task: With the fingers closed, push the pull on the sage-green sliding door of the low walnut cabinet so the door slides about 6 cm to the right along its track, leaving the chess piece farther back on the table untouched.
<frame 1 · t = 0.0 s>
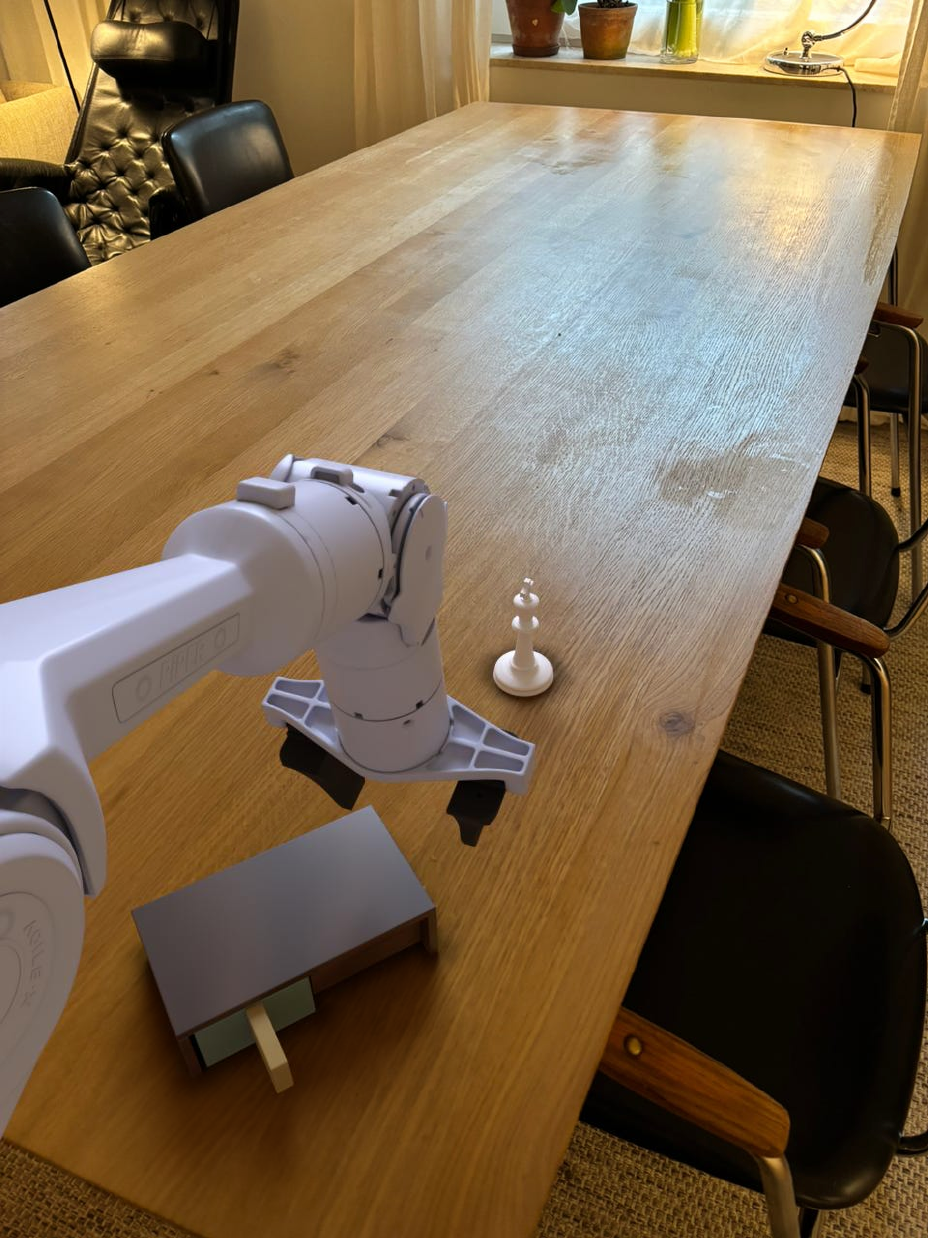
hand: (413, 812, 58), 11 cm above the table, tool pointing down, fingers open, 7 cm apart
sliding door: (268, 1047, 56), point 2 cm above the table, slide at 0.0 cm
cabinet: (293, 953, 63), on the table
chess piece: (523, 677, 82), on the table
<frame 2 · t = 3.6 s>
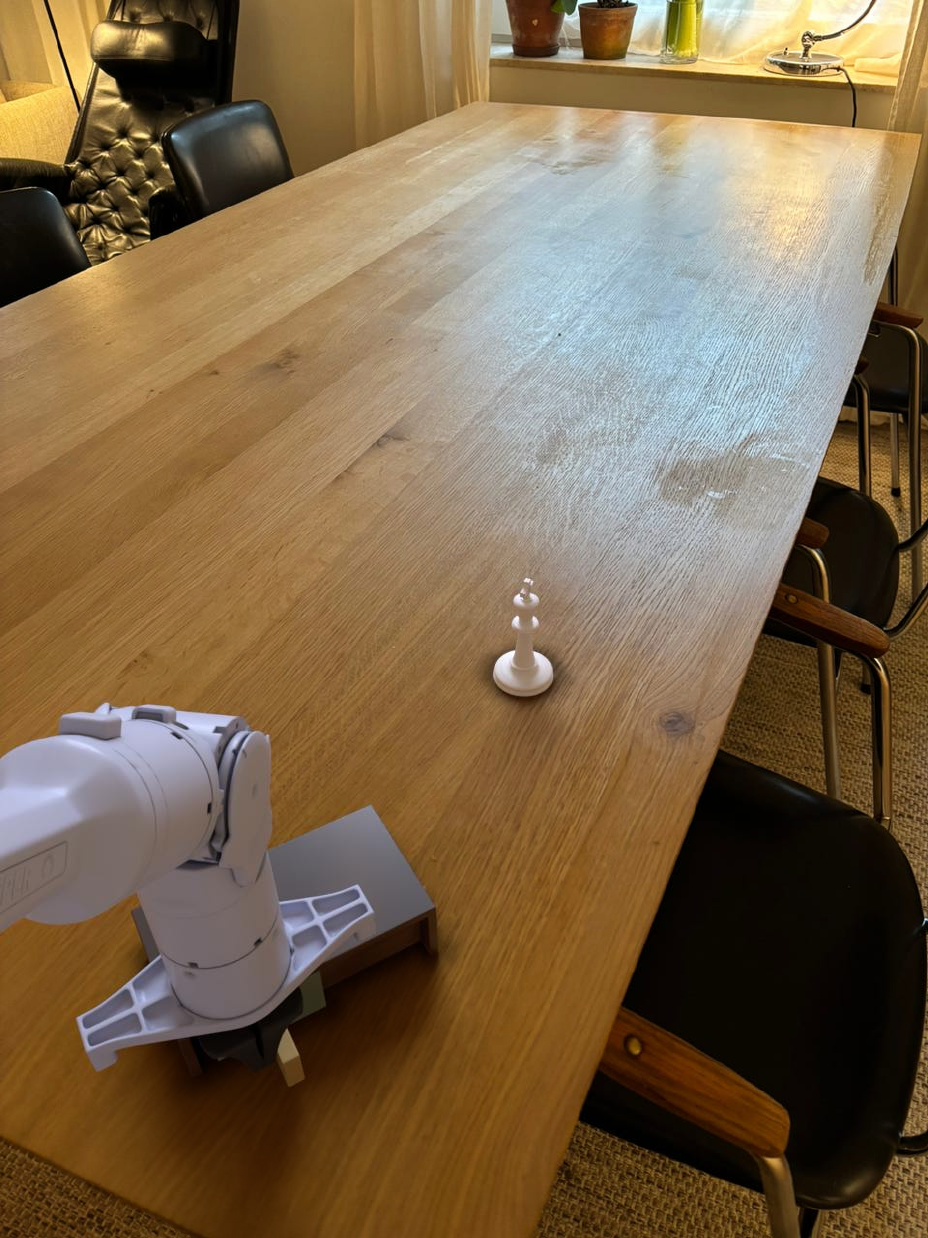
hand: (258, 1051, 54), 4 cm above the table, tool pointing down, fingers closed
sliding door: (280, 1042, 56), point 2 cm above the table, slide at 0.7 cm, touching gripper
everything else where it was.
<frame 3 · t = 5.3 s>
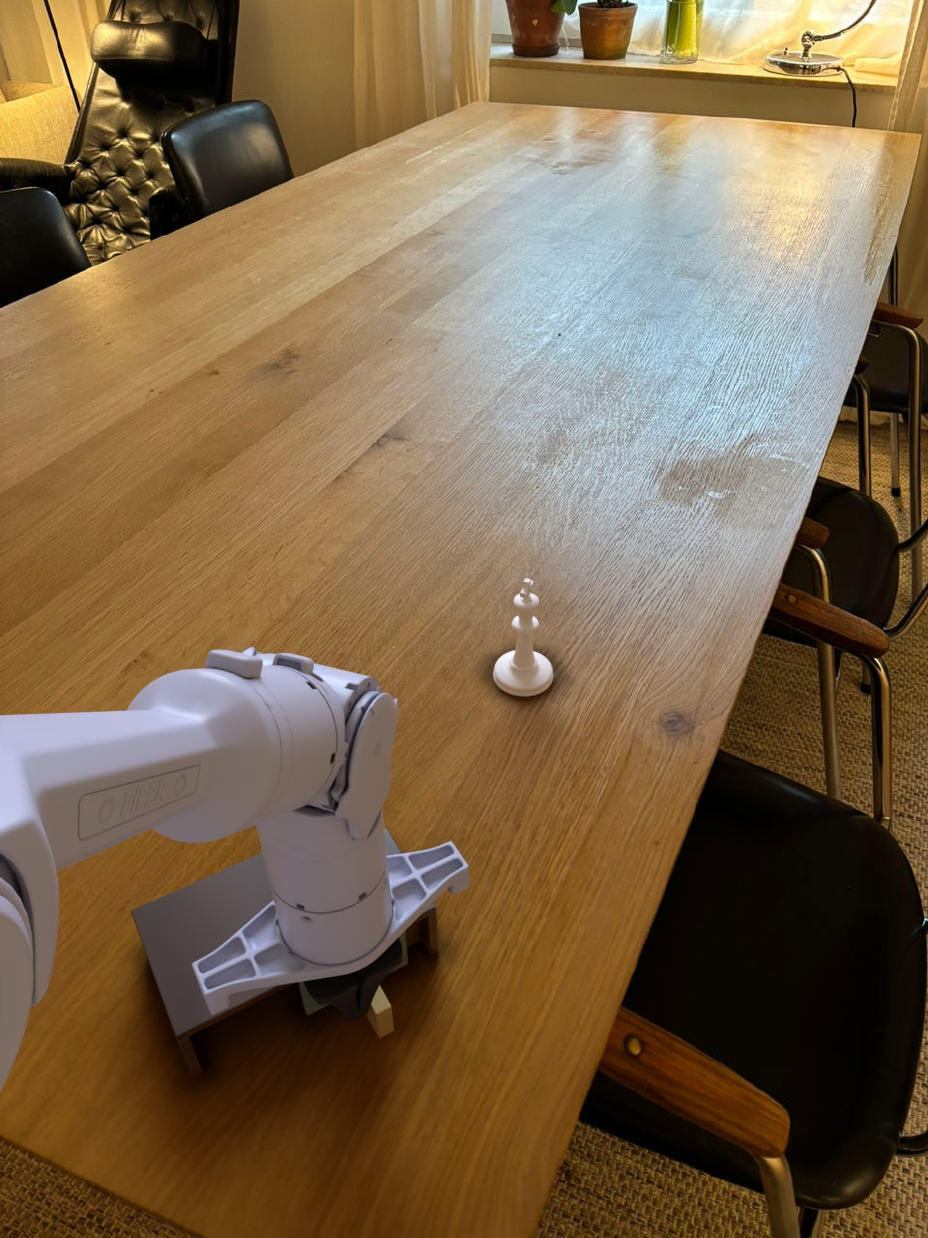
hand: (351, 1004, 56), 4 cm above the table, tool pointing down, fingers closed
sliding door: (368, 995, 58), point 2 cm above the table, slide at 6.2 cm, touching gripper
everything else where it was.
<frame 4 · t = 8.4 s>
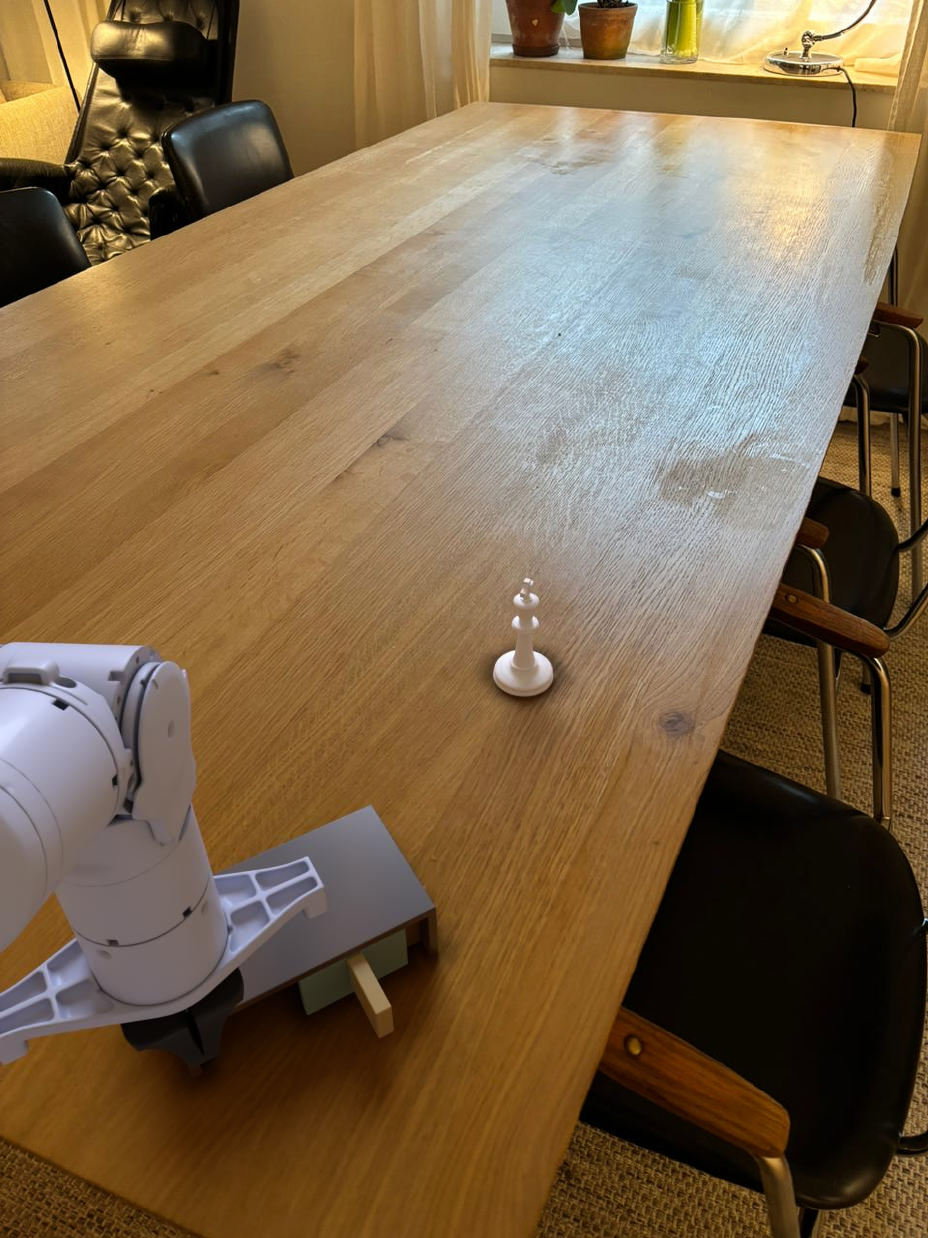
hand: (199, 1044, 49), 9 cm above the table, tool pointing down, fingers closed
sliding door: (368, 995, 58), point 2 cm above the table, slide at 6.2 cm
everything else where it was.
at the end: sliding door slide at 6.2 cm; chess piece moved 0.2 cm from its start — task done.
